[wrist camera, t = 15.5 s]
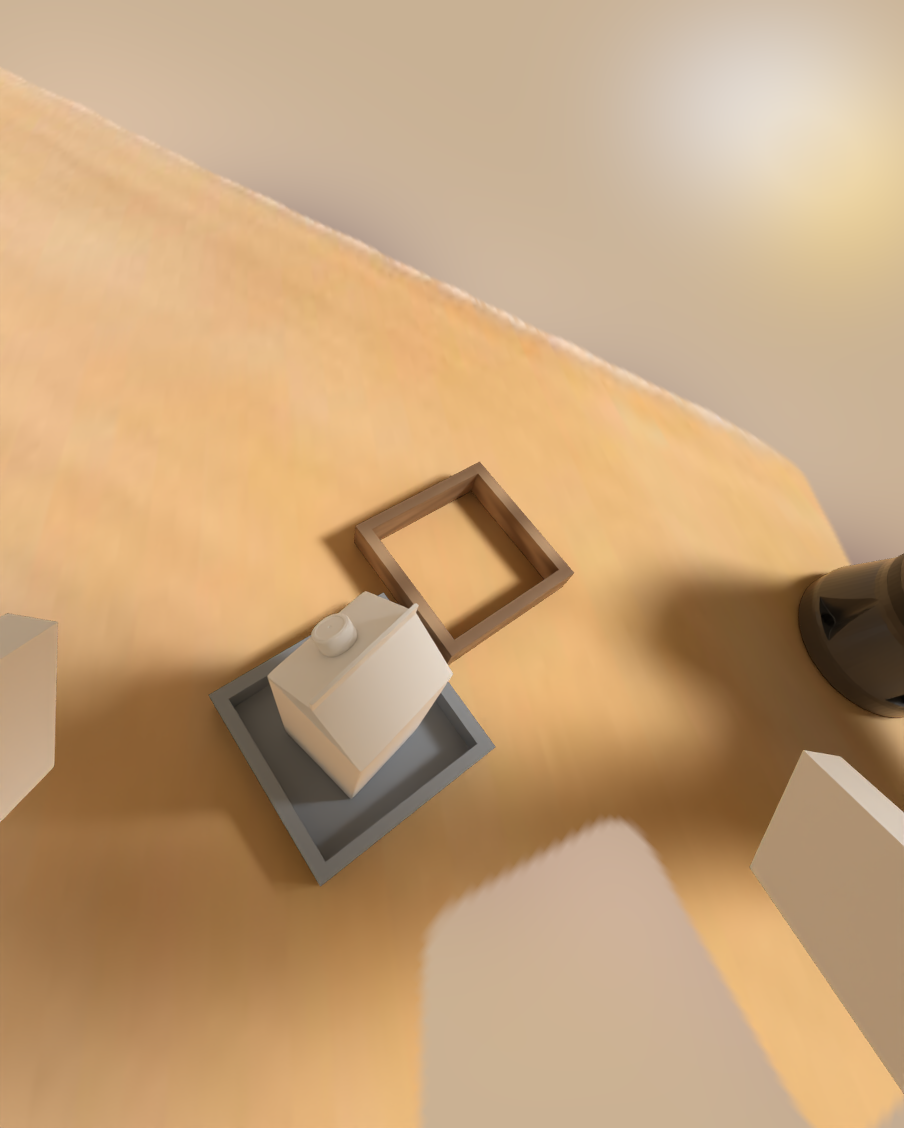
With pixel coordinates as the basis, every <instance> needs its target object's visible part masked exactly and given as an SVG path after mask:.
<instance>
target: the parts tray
mask: <svg viewBox="0 0 904 1128" xmlns="http://www.w3.org/2000/svg"><path fill="white" fill-rule="evenodd" d="M378 596H379V597H382V598H384V599H387V600H389V599H388V598H387V597H386V595H385V594H384V593H382V594H380V595H378ZM310 637H311V635H310V636H308V637H307V638H305V639H303V640H302V641H300V642H298V643H296V644H295V645H293V646H291V647H290V648H288V649H286V650H285V651H283V652H281V653H279V654H278V655H276V656H274V657H273V658H271V659H269V660H267V661H266V662H264V663H262V664H261V665H259V666H257V667H256V668H254V669H252V670H250V671H249V672H247V673H245V674H244V675H242V676H240V677H238V678H237V679H235V680H233V681H232V682H230V683H228V684H226V685H225V686H223V687H221V688H220V689H218V690H216V691H215V692H213V693H211V694H209V697H210V699H211V700H212V702H213V704H214V706H215V707H216V709H217V711H218V712H219V714H220V716H221V718H222V719H223V721H224V723H225V724H226V726H227V728H228V730H229V731H230V733H231V735H232V736H233V738H234V740H235V742H236V743H237V745H238V747H239V748H240V750H241V752H242V754H243V755H244V757H245V759H246V760H247V762H248V764H249V765H250V767H251V769H252V771H253V772H254V774H255V776H256V777H257V779H258V781H259V783H260V784H261V786H262V788H263V789H264V791H265V793H266V795H267V796H268V798H269V800H270V801H271V803H272V805H273V807H274V808H275V810H276V812H277V813H278V815H279V817H280V819H281V820H282V822H283V824H284V825H285V827H286V829H287V831H288V832H289V834H290V836H291V837H292V839H293V841H294V843H295V844H296V846H297V848H298V849H299V851H300V853H301V854H302V856H303V858H304V860H305V861H306V863H307V865H308V866H309V868H310V870H311V872H312V873H313V875H314V877H315V878H316V880H317V882H318V884H319V885H320V886H322V885H323V884H324V883H325V882H327V881H328V880H329V879H331V878H332V877H333V876H334V875H336V874H337V873H338V872H339V871H341V870H342V869H343V868H344V867H346V866H347V865H348V864H349V863H351V862H352V861H353V860H354V859H356V858H357V857H358V856H359V855H361V854H362V853H363V852H364V851H366V850H367V849H368V848H369V847H371V846H372V845H373V844H374V843H376V842H377V841H378V840H379V839H381V838H382V837H383V836H384V835H386V834H387V833H388V832H390V831H391V830H392V829H393V828H395V827H396V826H397V825H398V824H400V823H401V822H402V821H403V820H405V819H406V818H407V817H408V816H410V815H411V814H412V813H413V812H415V811H416V810H417V809H418V808H420V807H421V806H422V805H423V804H425V803H426V802H427V801H428V800H430V799H431V798H432V797H433V796H435V795H436V794H437V793H438V792H440V791H441V790H442V789H444V788H445V787H446V786H447V785H449V784H450V783H451V782H452V781H454V780H455V779H456V778H457V777H459V776H460V775H461V774H462V773H464V772H465V771H466V770H467V769H469V768H470V767H471V766H472V765H474V764H475V763H476V762H477V761H479V760H480V759H481V758H482V757H484V756H485V755H486V754H487V753H489V752H490V751H491V750H492V749H494V748H495V745H494V744H493V743H492V741H491V740H490V739H489V737H488V736H487V734H486V733H485V732H484V730H483V729H482V728H481V726H480V725H479V723H478V722H477V721H476V719H475V718H474V716H473V715H472V714H471V712H470V711H469V710H468V708H467V707H466V705H465V704H464V703H463V701H462V700H461V699H460V697H459V696H458V694H457V693H456V692H455V690H454V689H453V688H452V686H451V685H450V683H449V682H447V684H446V685H445V687H444V688H443V690H442V691H441V693H440V694H439V696H438V697H437V699H436V700H435V702H434V703H433V705H432V706H431V708H430V709H429V711H428V712H427V714H426V715H425V717H424V718H423V720H422V721H421V723H420V724H419V726H418V727H417V729H416V730H415V731H414V733H413V734H412V735H411V736H410V737H409V738H408V739H407V740H406V741H405V742H404V743H403V745H402V746H401V747H400V748H399V749H398V750H397V751H396V752H395V753H394V754H393V755H392V756H391V758H390V759H389V760H388V761H387V762H386V763H385V764H384V765H383V766H382V767H381V768H380V769H379V771H378V772H377V773H376V774H375V775H374V776H373V777H372V778H371V779H370V780H369V781H368V782H367V784H366V785H365V786H364V787H363V788H362V789H361V790H360V791H359V792H358V793H357V794H356V795H355V796H354V797H353V798H352V799H350V798H349V797H348V796H347V795H346V794H345V793H344V792H343V790H342V789H341V788H340V787H339V786H338V785H337V784H336V783H335V782H334V781H333V780H332V779H331V778H330V777H329V776H328V775H327V774H326V773H325V772H324V771H323V770H322V769H321V768H320V767H319V766H318V765H317V763H316V762H315V761H314V760H313V759H312V758H311V757H310V756H309V755H308V754H307V753H306V752H305V751H304V750H303V749H302V748H301V747H300V746H299V745H298V744H297V743H296V742H295V741H294V740H293V739H292V737H291V736H290V735H289V734H288V733H287V732H286V731H285V728H284V725H283V722H282V719H281V716H280V713H279V710H278V707H277V704H276V701H275V698H274V695H273V692H272V689H271V686H270V683H269V680H268V677H267V676H268V675H269V673H270V672H271V671H273V670H274V669H275V668H276V667H277V666H278V665H279V664H280V663H281V662H283V661H284V660H285V659H286V658H287V657H288V656H289V655H291V654H292V653H293V652H294V651H295V650H296V649H297V648H299V647H300V646H301V645H302V644H303V643H304V642H306V641H307V640H308V639H309V638H310Z"/></svg>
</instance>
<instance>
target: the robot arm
mask: <svg viewBox="0 0 904 1128" xmlns="http://www.w3.org/2000/svg"><path fill="white" fill-rule="evenodd" d="M799 624H800V630H801V634H802V637H803V641H804V643H805V646H806V648H807V650H808V652H809V654H810V656H811V658H812V660H813V662H814V663H815V665H816V666H817V668H818V669H819V670H820V672H821V673H822V674H823V676H824V677H825V678H826V679H827V680H828V681H829V683H830V684H831V685H832V686H833V687H834V688H835V689H836V690H838V691H839V692H840V693H841V694H842V695H843V696H845V697H846V698H847V699H849V700H850V701H852V702H853V703H855V704H856V705H858V706H860V707H862V708H864V709H866V710H868V711H870V712H873V713H875V714H879V715H882V716H887V717H897V718H899V717H904V554H902V555H900V556H898V557H895V558H890V559H884V560H878V561H873V562H867V563H861V564H856V565H850V566H845V567H841V568H838V569H836V570H833V571H831V572H829V573H828V574H826V575H824V576H822V577H821V578H819V579H817V580H816V581H814V582H813V583H812V584H811V585H810V586H809V587H808V588H807V589H806V591H805V592H804V594H803V596H802V599H801V603H800V608H799ZM57 644H58V622H55V621H49V620H44V619H38V618H32V617H26V616H20V615H14V614H9V613H7V614H5V615H3V616H1V617H0V822H1V821H2V820H3V819H4V818H5V817H6V816H7V815H8V814H9V813H10V812H11V811H12V810H13V809H14V808H15V807H16V805H17V804H18V803H19V802H20V801H21V800H22V799H23V798H24V797H25V796H26V795H27V794H28V793H29V792H30V791H31V790H32V789H33V788H34V787H35V786H36V785H37V784H38V783H39V782H40V781H41V780H42V779H43V778H44V777H45V775H46V774H47V773H48V772H49V771H50V770H51V769H52V768H53V767H54V760H55V722H56V683H57ZM750 869H751V870H752V872H753V873H754V875H755V876H756V878H757V879H758V881H759V882H760V884H761V885H762V887H763V888H764V889H765V891H766V892H767V894H768V895H769V897H770V898H771V900H772V901H773V903H774V904H775V906H776V907H777V909H778V910H779V911H780V913H781V914H782V916H783V917H784V919H785V920H786V922H787V923H788V925H789V926H790V928H791V929H792V931H793V932H794V934H795V935H796V936H797V938H798V939H799V941H800V942H801V944H802V945H803V947H804V948H805V950H806V951H807V953H808V954H809V956H810V957H811V959H812V960H813V961H814V963H815V964H816V966H817V967H818V969H819V970H820V972H821V973H822V975H823V976H824V978H825V979H826V981H827V982H828V983H829V985H830V986H831V988H832V989H833V991H834V992H835V994H836V995H837V997H838V998H839V1000H840V1001H841V1003H842V1004H843V1006H844V1007H845V1008H846V1010H847V1011H848V1013H849V1014H850V1016H851V1017H852V1019H853V1020H854V1022H855V1023H856V1025H857V1026H858V1028H859V1029H860V1030H861V1032H862V1033H863V1035H864V1036H865V1038H866V1039H867V1041H868V1042H869V1044H870V1045H871V1047H872V1048H873V1050H874V1051H875V1053H876V1054H877V1055H878V1057H879V1058H880V1060H881V1061H882V1063H883V1064H884V1066H885V1067H886V1069H887V1070H888V1072H889V1073H890V1075H891V1076H892V1077H893V1079H894V1080H895V1082H896V1083H897V1085H898V1086H899V1088H900V1089H901V1091H902V1092H903V1094H904V812H903V811H901V810H900V809H899V808H898V807H897V806H896V805H895V804H894V803H892V802H891V801H890V800H889V799H888V798H887V797H886V796H885V795H883V794H882V793H881V792H880V791H879V790H878V789H877V788H875V787H874V786H873V785H872V784H871V783H870V782H869V781H868V780H866V779H865V778H864V777H863V776H862V775H861V774H860V773H859V772H857V771H856V770H855V769H854V768H853V767H852V766H851V765H849V764H848V763H847V762H846V761H845V760H844V759H843V758H842V757H840V756H835V755H829V754H823V753H818V752H812V751H806V750H803V751H802V754H801V756H800V758H799V760H798V762H797V764H796V767H795V769H794V771H793V773H792V775H791V778H790V780H789V782H788V784H787V786H786V788H785V791H784V793H783V795H782V797H781V799H780V802H779V804H778V806H777V808H776V810H775V812H774V815H773V817H772V819H771V821H770V823H769V826H768V828H767V830H766V832H765V834H764V836H763V839H762V841H761V843H760V845H759V847H758V850H757V852H756V854H755V856H754V858H753V860H752V863H751V865H750Z"/></svg>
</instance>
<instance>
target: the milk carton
mask: <svg viewBox="0 0 904 1128" xmlns="http://www.w3.org/2000/svg"><path fill="white" fill-rule="evenodd" d="M418 606H419V605H418V604H417V603H415V604H414V605H412V606H411V607H410V608H409V609H408V608H406V607H404V606H401V605H399V604H396V603H394V602H391V601H389V600H387V599H384V598H382V597H379V596H377V595H374V594H372V593H369V592H367V591H365V592H363V593H362V594H360V595H359V596H358V597H356V598H355V599H354V600H353V601H352V602H351V603H349V604H348V605H347V606H346V607H345V608H344V609H342V610H341V611H340V612H339V613H337V614H332V615H329V616H327V617H326V618H324V619H323V620H321V621H320V622H319V623H318V624H317V625H316V626H315V627H314V629H313V630H312V632H311V637H310V638H309V639H308V640H307V641H306V642H304V643H303V644H302V645H301V646H300V647H299V648H297V649H296V650H295V651H294V652H293V653H292V654H291V655H289V656H288V657H287V658H286V659H285V660H284V661H283V662H281V663H280V664H279V665H278V666H277V667H276V668H275V669H274V670H273V671H271V672H270V673H269V675H268V676H267V677H268V680H269V683H270V686H271V689H272V692H273V695H274V698H275V701H276V704H277V707H278V710H279V713H280V716H281V719H282V722H283V725H284V728H285V731H286V732H287V733H288V734H289V735H290V736H291V737H292V739H293V740H294V741H295V742H296V743H297V744H298V745H299V746H300V747H301V748H302V749H303V750H304V751H305V752H306V753H307V754H308V755H309V756H310V757H311V758H312V759H313V760H314V761H315V762H316V763H317V765H318V766H319V767H320V768H321V769H322V770H323V771H324V772H325V773H326V774H327V775H328V776H329V777H330V778H331V779H332V780H333V781H334V782H335V783H336V784H337V785H338V786H339V787H340V788H341V789H342V790H343V792H344V793H345V794H346V795H347V796H348V797H349V798H350V799H352V798H353V797H354V796H355V795H356V794H357V793H358V792H359V791H360V790H361V789H362V788H363V787H364V786H365V785H366V784H367V782H368V781H369V780H370V779H371V778H372V777H373V776H374V775H375V774H376V773H377V772H378V771H379V769H380V768H381V767H382V766H383V765H384V764H385V763H386V762H387V761H388V760H389V759H390V758H391V756H392V755H393V754H394V753H395V752H396V751H397V750H398V749H399V748H400V747H401V746H402V745H403V743H404V742H405V741H406V740H407V739H408V738H409V737H410V736H411V735H412V734H413V733H414V731H415V730H416V729H417V727H418V726H419V724H420V723H421V721H422V720H423V718H424V717H425V715H426V714H427V712H428V711H429V709H430V708H431V706H432V705H433V703H434V702H435V700H436V699H437V697H438V696H439V694H440V693H441V691H442V690H443V688H444V687H445V685H446V684H447V682H448V681H449V679H450V678H451V676H452V675H453V673H452V671H451V669H450V668H449V666H448V664H447V663H446V661H445V660H444V658H443V656H442V655H441V653H440V651H439V650H438V648H437V646H436V645H435V643H434V642H433V640H432V638H431V637H430V635H429V633H428V632H427V630H426V628H425V627H424V625H423V624H422V622H421V620H420V619H419V617H418V615H417V614H416V611H417V608H418Z"/></svg>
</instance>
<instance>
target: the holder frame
mask: <svg viewBox="0 0 904 1128" xmlns="http://www.w3.org/2000/svg"><path fill="white" fill-rule="evenodd" d="M470 491H471V492H472V493H473V494H474V495H475V496H476V498H477V499H478V500H479V501H480V502H481V504H482V505H483V506H484V507H485V508H486V510H487V511H488V512H489V513H490V514H491V516H492V517H493V518H494V519H495V521H496V522H497V523H498V524H499V525H500V527H501V528H502V529H503V530H504V531H505V533H506V534H507V535H508V536H509V537H510V539H511V540H512V541H513V542H514V543H515V545H516V546H517V547H518V548H519V549H520V551H521V552H522V553H523V554H524V555H525V557H526V558H527V559H528V560H529V562H530V563H531V564H532V565H533V566H534V568H535V569H536V570H537V571H538V572H539V574H540V575H541V576H542V577H543V578H544V580H543V581H541V582H540V583H538V584H537V585H535V586H534V587H532V588H531V589H529V590H528V591H526V592H525V593H523V594H522V595H520V596H519V597H517V598H516V599H514V600H513V601H511V602H510V603H508V604H507V605H505V606H504V607H502V608H501V609H499V610H498V611H496V612H495V613H493V614H492V615H490V616H489V617H488V618H486V619H485V620H483V621H482V622H480V623H479V624H477V625H476V626H474V627H473V628H471V629H470V630H468V631H467V632H465V633H464V634H462V635H461V636H459V637H458V638H456V639H455V640H454V638H453V637H452V636H451V634H450V633H449V632H448V630H447V629H446V628H445V626H444V625H443V624H442V622H441V621H440V620H439V618H438V617H437V616H436V614H435V613H434V612H433V610H432V609H431V608H430V606H429V605H428V604H427V602H426V601H425V600H424V598H423V597H422V596H421V594H420V593H419V592H418V590H417V589H416V588H415V586H414V585H413V584H412V582H411V581H410V580H409V578H408V577H407V576H406V574H405V573H404V572H403V570H402V569H401V567H400V566H399V565H398V563H397V562H396V561H395V559H394V558H393V557H392V555H391V554H390V553H389V551H388V550H387V549H386V547H385V546H384V545H383V543H382V542H381V541H380V540H381V539H383V538H385V537H387V536H389V535H391V534H393V533H394V532H396V531H398V530H400V529H402V528H404V527H406V526H407V525H409V524H411V523H413V522H415V521H417V520H419V519H420V518H422V517H424V516H426V515H428V514H430V513H432V512H433V511H435V510H437V509H439V508H441V507H443V506H445V505H446V504H448V503H450V502H452V501H454V500H456V499H458V498H459V497H461V496H463V495H465V494H467V493H469V492H470ZM354 543H355V544H356V546H357V547H358V548H359V550H360V551H361V552H362V554H363V555H364V557H365V558H366V559H367V561H368V562H369V563H370V565H371V566H372V567H373V569H374V570H375V572H376V573H377V574H378V576H379V577H380V578H381V580H382V581H383V583H384V584H385V585H386V587H387V588H388V589H389V591H390V592H391V594H392V595H393V596H394V598H395V599H396V600H397V602H398V603H399V604H400V605H401V606H404V607H406V608H408V609H409V608H410V607H411V606H412V605H414V604H415V603H417V604H418V605H419V606H418V608H417V611H416V614H417V615H418V617H419V619H420V620H421V622H422V624H423V625H424V627H425V628H426V630H427V632H428V633H429V635H430V637H431V638H432V640H433V642H434V643H435V645H436V646H437V648H438V650H439V651H440V653H441V655H442V656H443V658H444V660H445V661H446V663H447V664H448V665H449V664H451V663H452V662H454V661H455V660H457V659H458V658H460V657H461V656H462V655H464V654H465V653H467V652H468V651H470V650H471V649H473V648H474V647H476V646H477V645H478V644H480V643H481V642H483V641H484V640H486V639H487V638H489V637H490V636H492V635H493V634H494V633H496V632H497V631H499V630H500V629H502V628H503V627H505V626H506V625H508V624H509V623H510V622H512V621H513V620H515V619H516V618H518V617H519V616H521V615H522V614H524V613H525V612H526V611H528V610H529V609H531V608H532V607H534V606H535V605H537V604H538V603H540V602H541V601H542V600H544V599H545V598H547V597H548V596H550V595H551V594H553V593H554V592H556V591H557V590H558V589H560V588H561V587H563V585H564V584H565V583H566V582H567V581H568V580H569V578H570V577H571V576H572V575H573V574H574V572H573V571H572V570H571V569H570V567H569V566H568V565H567V564H566V563H565V561H564V560H563V559H562V558H561V557H560V556H559V554H558V553H557V552H556V551H555V550H554V549H553V547H552V546H551V545H550V544H549V543H548V541H547V540H546V539H545V538H544V537H543V536H542V534H541V533H540V532H539V531H538V530H537V529H536V527H535V526H534V525H533V524H532V523H531V521H530V520H529V519H528V518H527V517H526V516H525V514H524V513H523V512H522V511H521V510H520V509H519V507H518V506H517V505H516V504H515V503H514V502H513V500H512V499H511V498H510V497H509V496H508V494H507V493H506V492H505V491H504V490H503V489H502V487H501V486H500V485H499V484H498V483H497V482H496V480H495V479H494V478H493V477H492V476H491V474H490V473H489V472H488V471H487V470H486V469H485V467H484V466H483V465H482V464H481V463H480V462H478V463H476V464H474V465H472V466H470V467H468V468H467V469H465V470H463V471H461V472H459V473H457V474H455V475H453V476H451V477H449V478H447V479H445V480H443V481H441V482H439V483H437V484H436V485H434V486H432V487H430V488H428V489H426V490H424V491H422V492H420V493H418V494H416V495H414V496H412V497H410V498H408V499H406V500H404V501H403V502H401V503H399V504H397V505H395V506H393V507H391V508H389V509H387V510H385V511H383V512H381V513H379V514H377V515H375V516H373V517H372V518H370V519H368V520H366V521H364V522H362V523H360V524H358V525H356V528H355V540H354Z"/></svg>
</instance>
